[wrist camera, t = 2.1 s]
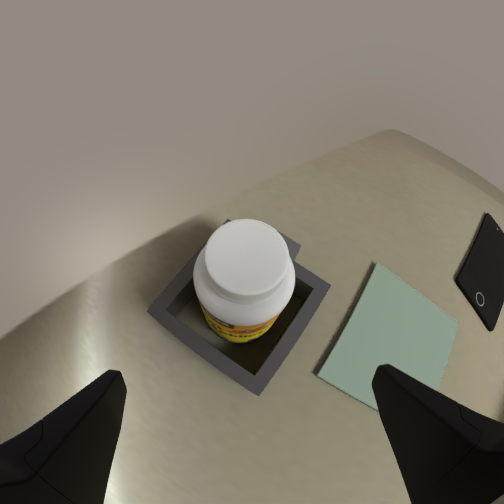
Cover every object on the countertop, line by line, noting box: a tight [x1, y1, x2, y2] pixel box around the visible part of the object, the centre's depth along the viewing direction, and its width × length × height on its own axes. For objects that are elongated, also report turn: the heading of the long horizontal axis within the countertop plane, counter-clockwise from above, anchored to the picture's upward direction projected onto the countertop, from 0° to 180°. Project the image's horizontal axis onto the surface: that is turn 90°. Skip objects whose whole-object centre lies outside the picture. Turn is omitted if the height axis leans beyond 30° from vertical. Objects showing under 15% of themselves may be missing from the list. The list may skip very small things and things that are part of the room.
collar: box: [147, 219, 331, 396], centre depth 20 cm, size 11×10×3 cm
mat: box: [316, 263, 459, 412], centre depth 20 cm, size 12×12×1 cm
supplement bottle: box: [193, 219, 295, 343], centre depth 17 cm, size 6×6×10 cm
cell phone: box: [455, 213, 504, 332], centre depth 26 cm, size 9×18×1 cm, turn 128°
